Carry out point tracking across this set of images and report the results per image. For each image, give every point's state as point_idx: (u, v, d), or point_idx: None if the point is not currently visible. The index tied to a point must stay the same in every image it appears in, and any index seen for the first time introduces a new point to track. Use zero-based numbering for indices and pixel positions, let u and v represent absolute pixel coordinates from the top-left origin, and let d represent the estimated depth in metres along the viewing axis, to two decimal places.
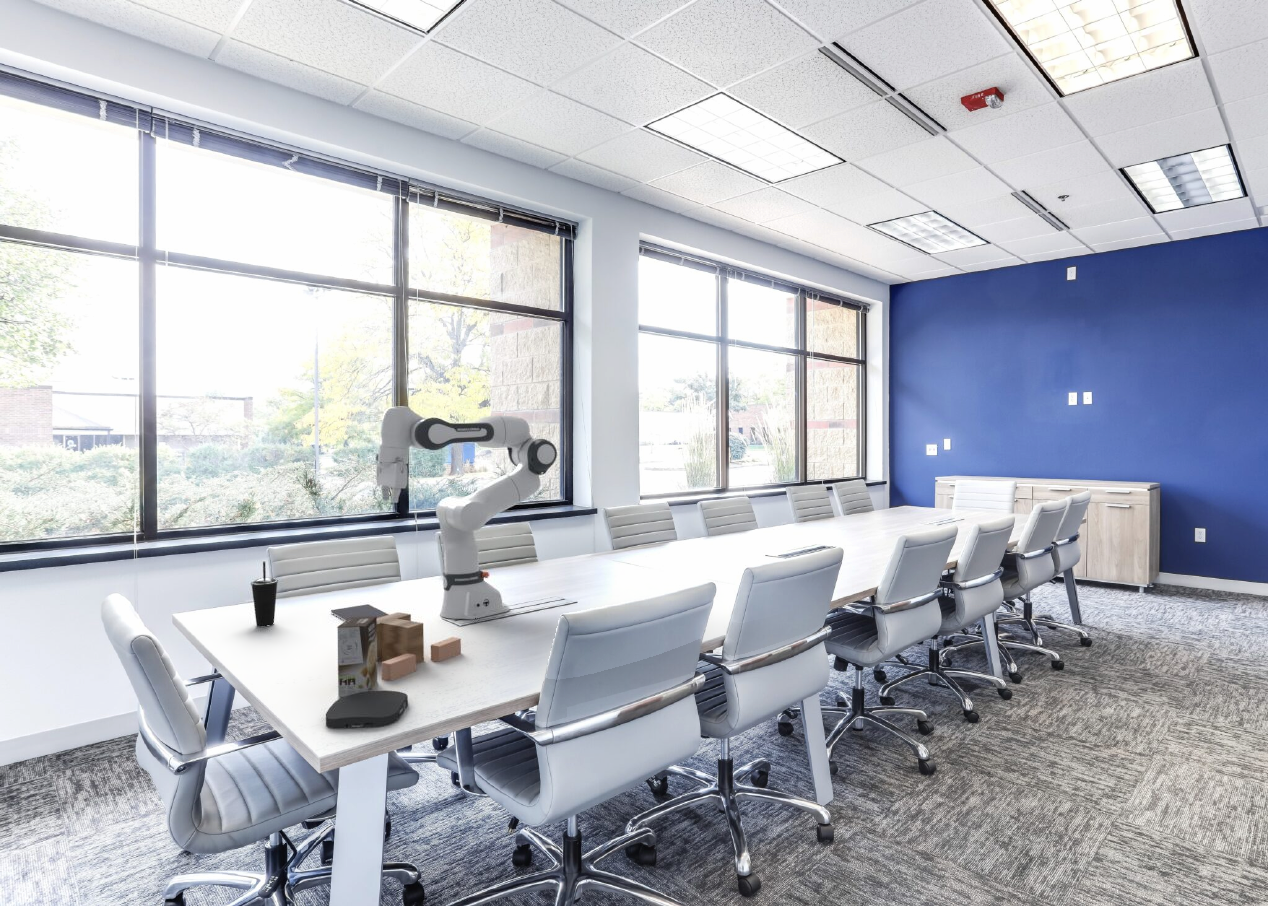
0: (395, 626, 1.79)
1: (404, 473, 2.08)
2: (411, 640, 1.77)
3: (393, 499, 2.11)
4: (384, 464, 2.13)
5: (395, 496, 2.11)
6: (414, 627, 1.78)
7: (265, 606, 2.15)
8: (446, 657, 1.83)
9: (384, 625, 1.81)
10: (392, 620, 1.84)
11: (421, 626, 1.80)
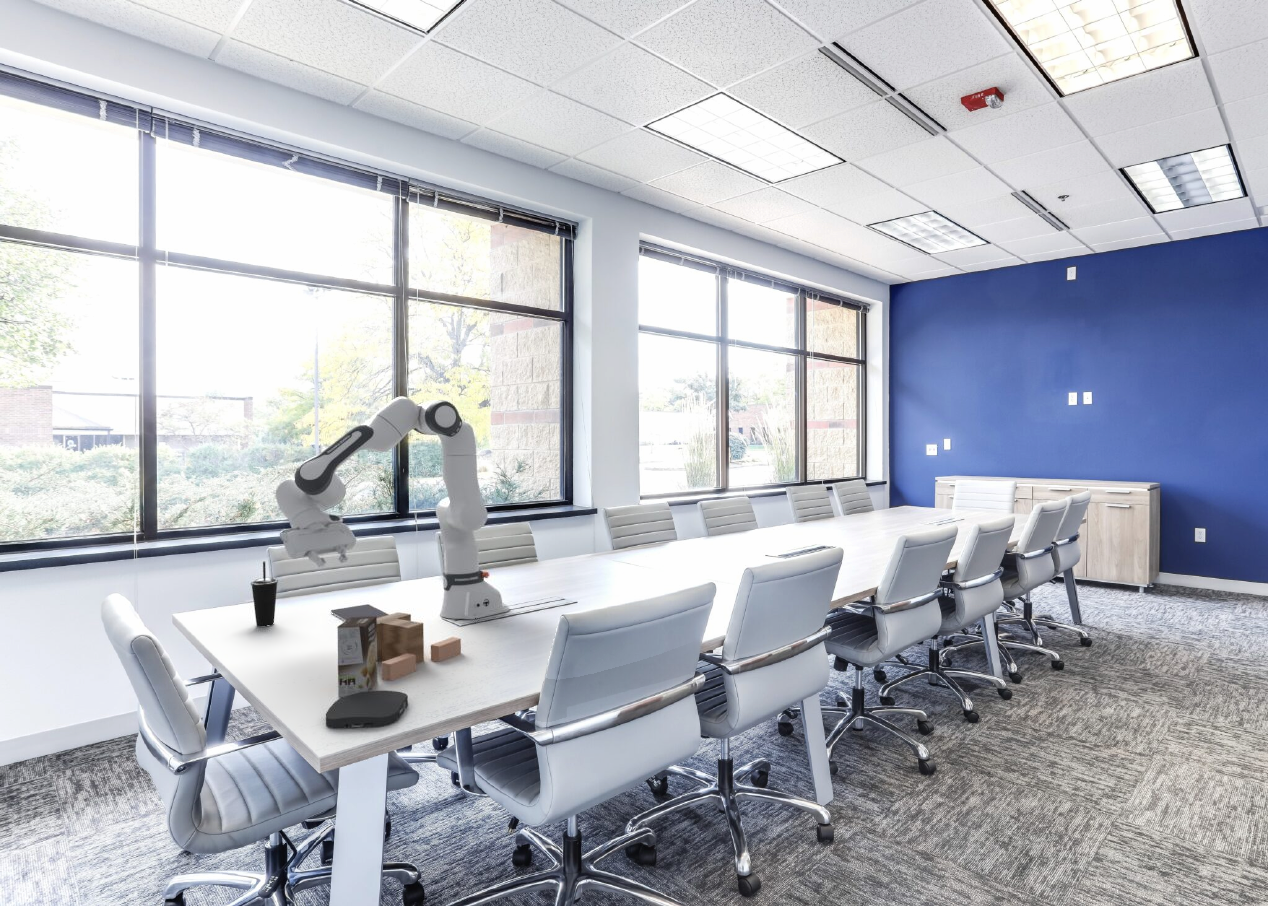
0: (395, 626, 1.79)
1: (288, 541, 1.88)
2: (411, 640, 1.77)
3: (317, 564, 1.91)
4: None
5: (316, 560, 1.91)
6: (414, 627, 1.78)
7: (265, 606, 2.15)
8: (446, 657, 1.83)
9: (384, 625, 1.81)
10: (392, 620, 1.84)
11: (421, 626, 1.80)
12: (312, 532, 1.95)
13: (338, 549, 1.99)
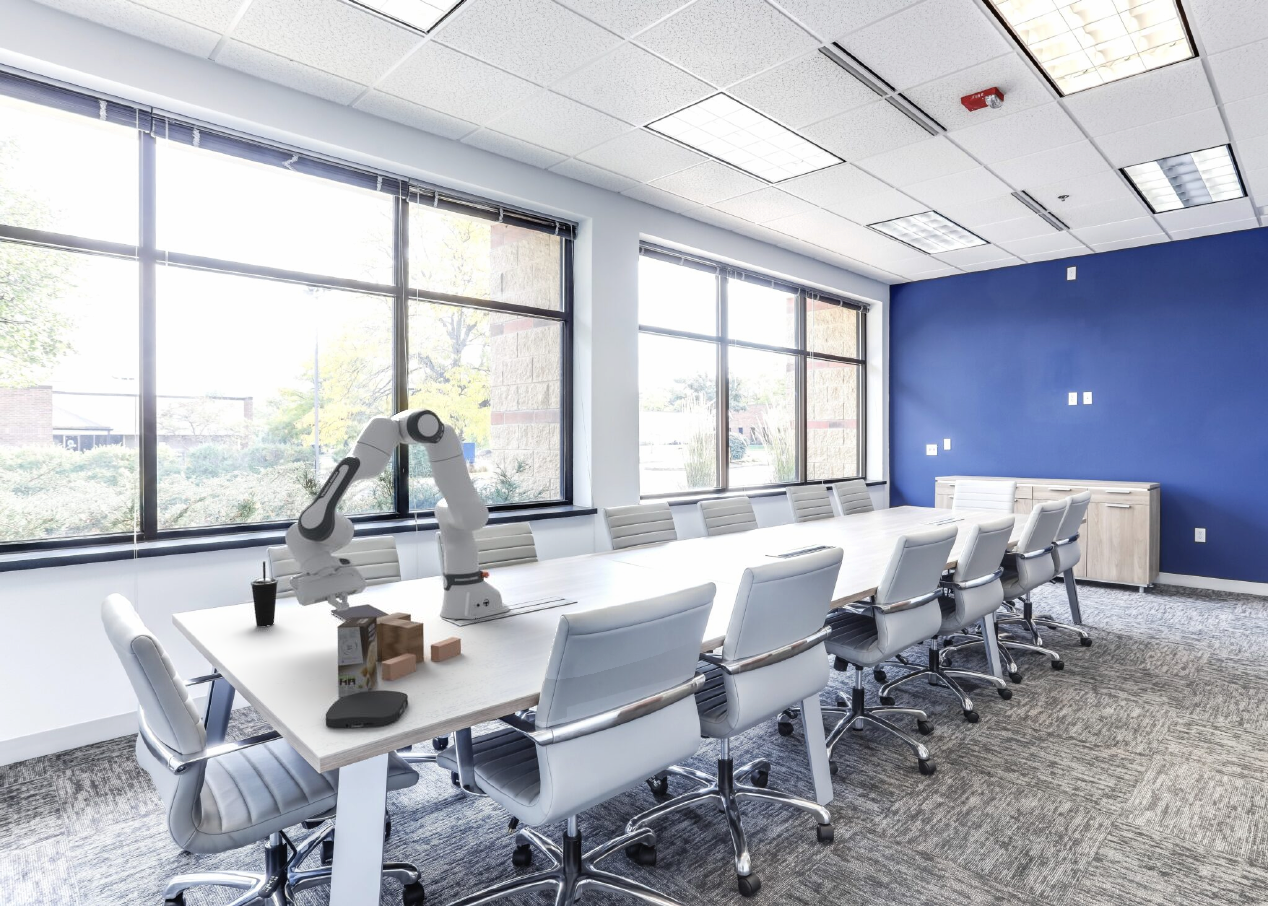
0: (395, 626, 1.79)
1: (298, 588, 1.86)
2: (411, 640, 1.77)
3: (337, 608, 1.91)
4: None
5: (335, 605, 1.91)
6: (414, 627, 1.78)
7: (265, 606, 2.15)
8: (446, 657, 1.83)
9: (384, 625, 1.81)
10: (392, 620, 1.84)
11: (421, 626, 1.80)
12: (322, 577, 1.93)
13: (340, 596, 1.95)
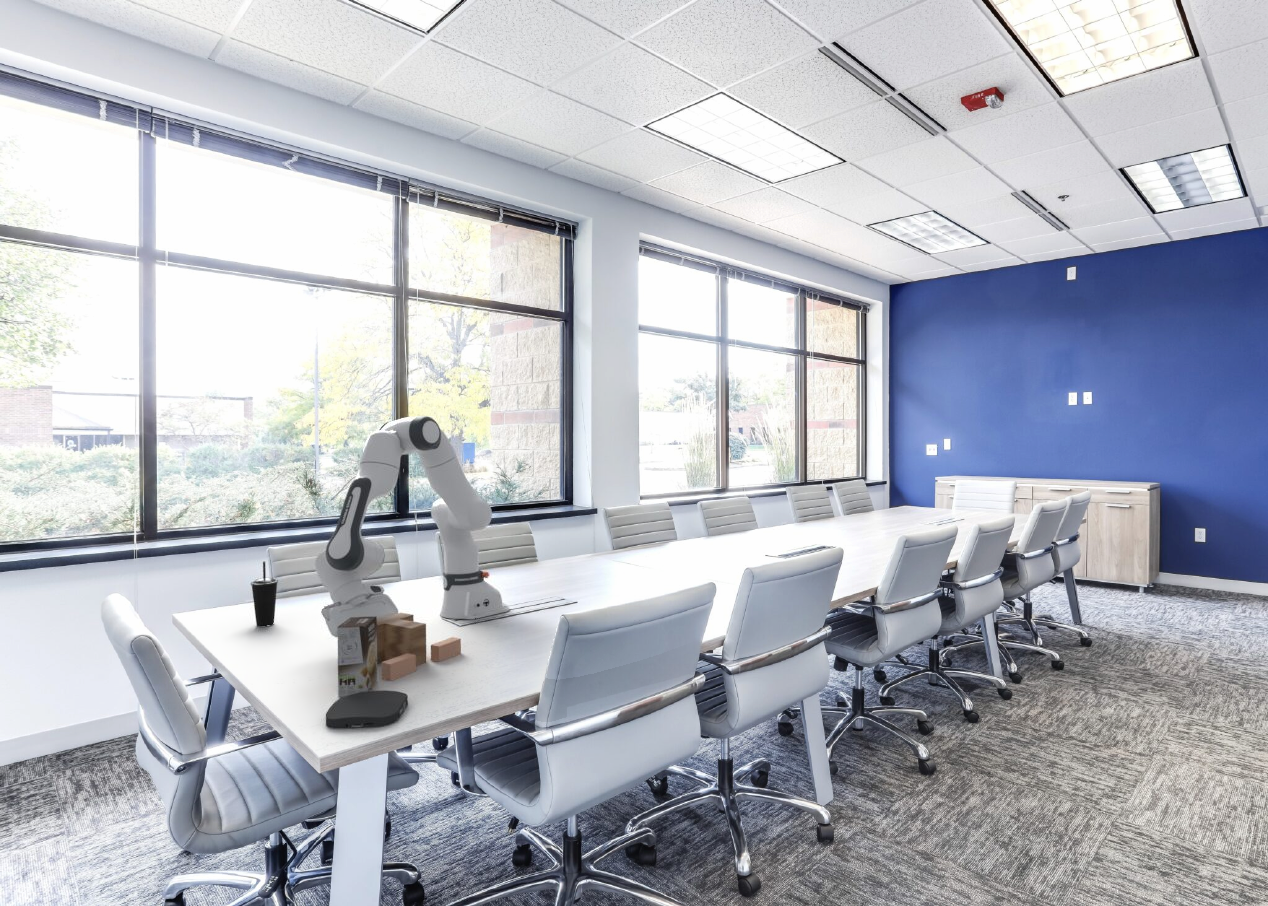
0: (398, 626, 1.78)
1: (330, 619, 1.80)
2: (414, 641, 1.77)
3: None
4: None
5: None
6: (417, 628, 1.78)
7: (265, 606, 2.15)
8: (446, 657, 1.83)
9: (387, 625, 1.80)
10: (395, 620, 1.83)
11: (424, 627, 1.80)
12: (354, 607, 1.87)
13: None
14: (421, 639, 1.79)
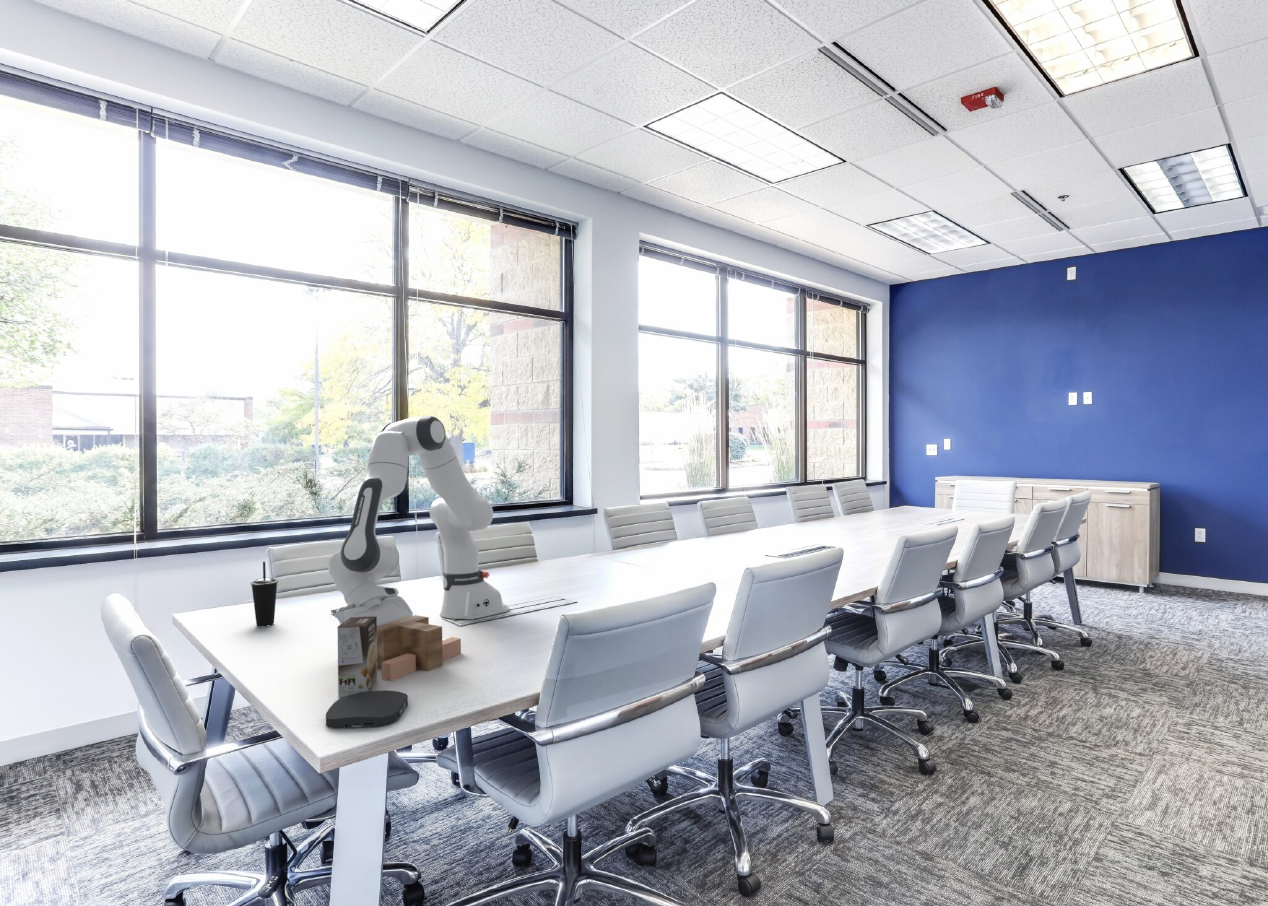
0: (413, 629, 1.75)
1: None
2: (430, 644, 1.74)
3: None
4: None
5: None
6: (433, 630, 1.75)
7: (265, 606, 2.15)
8: (446, 657, 1.83)
9: (402, 628, 1.77)
10: (410, 623, 1.80)
11: (440, 629, 1.77)
12: (368, 609, 1.84)
13: None
14: (437, 642, 1.76)
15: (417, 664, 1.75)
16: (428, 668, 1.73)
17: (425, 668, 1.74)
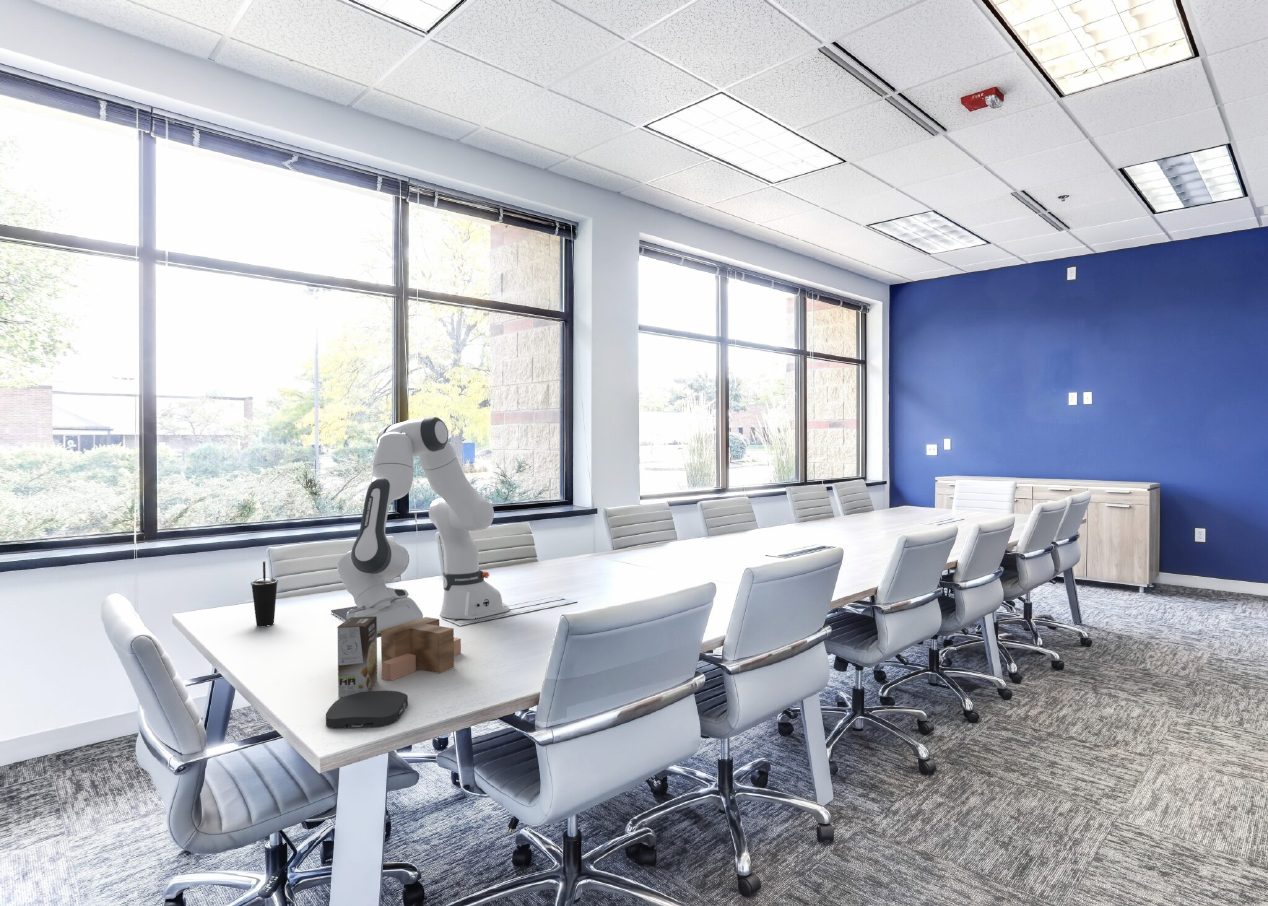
0: (425, 631, 1.73)
1: None
2: (442, 646, 1.72)
3: None
4: None
5: None
6: (444, 633, 1.73)
7: (265, 606, 2.15)
8: None
9: (413, 630, 1.75)
10: (421, 625, 1.78)
11: (451, 631, 1.75)
12: (379, 611, 1.82)
13: None
14: (449, 644, 1.74)
15: (428, 666, 1.73)
16: (440, 670, 1.72)
17: (437, 670, 1.72)
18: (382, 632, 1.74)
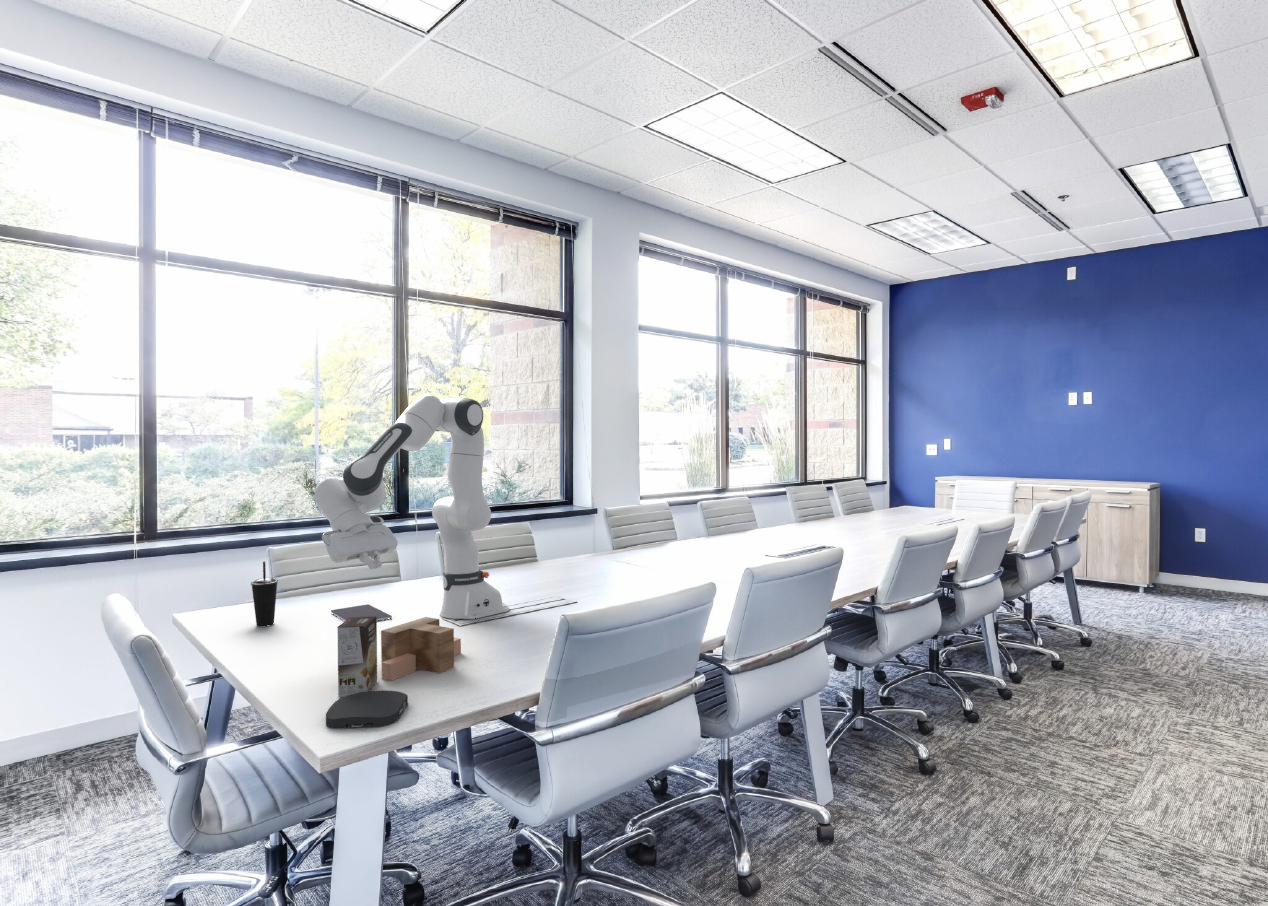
0: (425, 632, 1.73)
1: (330, 544, 1.80)
2: (442, 646, 1.72)
3: (369, 566, 1.86)
4: None
5: (367, 563, 1.86)
6: (444, 633, 1.73)
7: (265, 606, 2.15)
8: None
9: (413, 630, 1.75)
10: (421, 625, 1.78)
11: (451, 632, 1.75)
12: (354, 534, 1.87)
13: (371, 554, 1.89)
14: (449, 644, 1.74)
15: (428, 666, 1.73)
16: (440, 671, 1.72)
17: (437, 671, 1.72)
18: (382, 632, 1.74)
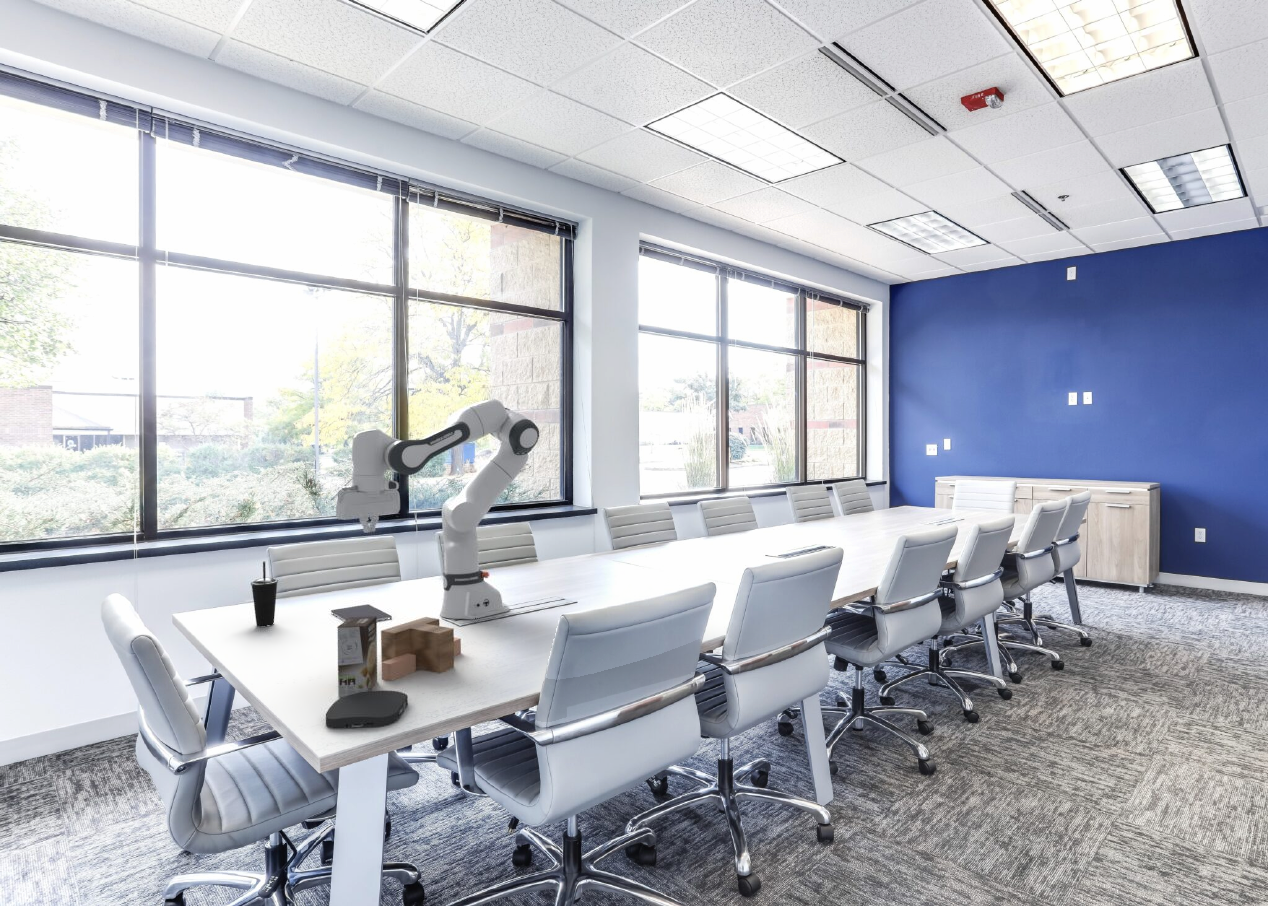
0: (425, 632, 1.73)
1: (342, 503, 1.93)
2: (442, 646, 1.72)
3: (363, 529, 2.01)
4: None
5: (364, 526, 2.01)
6: (444, 633, 1.73)
7: (265, 606, 2.15)
8: None
9: (413, 630, 1.75)
10: (421, 625, 1.78)
11: (451, 632, 1.75)
12: (366, 497, 1.99)
13: (372, 516, 2.03)
14: (449, 644, 1.74)
15: (428, 666, 1.73)
16: (440, 671, 1.72)
17: (437, 671, 1.72)
18: (382, 632, 1.74)
